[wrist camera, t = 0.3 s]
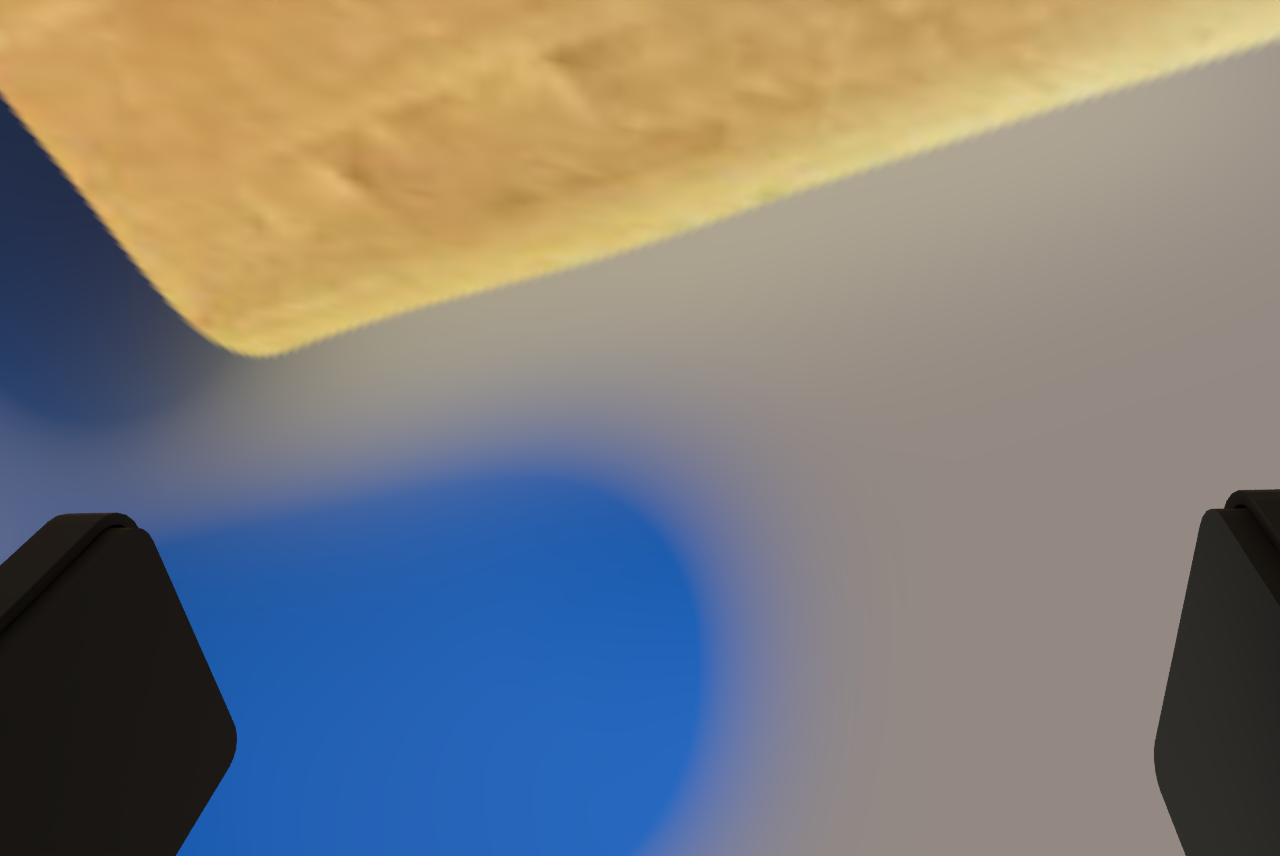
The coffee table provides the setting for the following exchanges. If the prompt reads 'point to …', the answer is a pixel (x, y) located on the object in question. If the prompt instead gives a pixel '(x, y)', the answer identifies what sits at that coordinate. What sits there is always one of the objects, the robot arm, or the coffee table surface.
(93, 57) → the coffee table surface
